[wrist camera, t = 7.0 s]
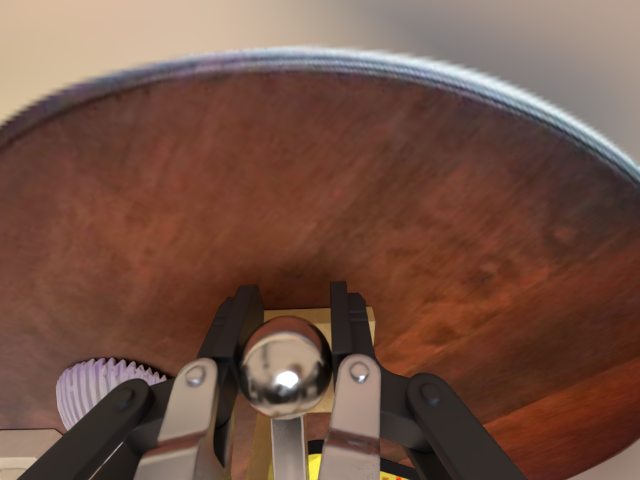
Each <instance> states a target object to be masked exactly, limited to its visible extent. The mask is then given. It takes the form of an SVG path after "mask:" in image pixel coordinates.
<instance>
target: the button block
mask: <svg viewBox="0 0 640 480" xmlns="http://www.w3.org/2000/svg"><path fill="white" fill-rule="evenodd" d="M62 436H63V435H61V434H60V433H59V432H58V431H56V430H55V429H41V430H0V480H16V479H18V478H19V477H20V476H21V475H22V474H23V473H24V472H25V471H26V470H27V469H28V468H29V467H30V466H31V465H32V464H34V463H35V462H36V461H37V460H38V459H39V458H40V457H41V456H42V455H43V454H44V453H45V452H46V451H47V450H48V449H49V448H51V447H52V446H53V445H54V444H55V443H56V442H57V441H58V440H59V439H60V438H61V437H62ZM101 467H102V466H101ZM101 467H100V468H101ZM100 468H99V469H100ZM99 469H98V470H99ZM98 470H97V471H98ZM97 471H96V472H97ZM96 472H95V473H94V474H93V476H94V475H95V474H96ZM93 476H92V477H93ZM92 477H91V478H92ZM91 478H90V479H91ZM90 479H89V480H90Z"/></svg>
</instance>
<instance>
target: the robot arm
mask: <svg viewBox="0 0 640 480" xmlns="http://www.w3.org/2000/svg"><path fill="white" fill-rule="evenodd" d="M330 310H331V349H332V368H333V385H334V393H335V394H334V400H333V406H332V412H331V418H330V424H329V430H328V433H327V435H326V437H325V440H324V445H323V450H322V455H321V461H320V467H319V473H318V479H317V480H380V443H379V438H380V437H382V438H384V439H387V440H390V441H392V442H395V443H398V444H400V445H402V446H403V448H404V450H405V452H406V453H407V455H408V457H409V459H410V460H411V462H412V464H413V466H414V467H415V469H416V471H417V473H418V474H419V476H420V478H421V480H528V479H527V478H526V477H525V476H524V475H523V473H522V472H521V471H520V470H519V469H518V467H517V466H516V465H515V464H514V463H513V462H512V460H511V459H510V458H509V457H508V456H507V454H506V453H505V452H504V451H503V450H502V448H501V447H500V446H499V445H498V444H497V442H496V441H495V440H494V439H493V438H492V436H491V435H490V434H489V433H488V432H487V430H486V429H485V428H484V427H483V426H482V424H481V423H480V422H479V421H478V420H477V418H476V417H475V416H474V415H473V414H472V412H471V411H470V410H469V409H468V408H467V406H466V405H465V404H464V403H463V402H462V401H461V399H460V398H459V397H458V396H457V395H456V393H455V392H454V391H453V390H452V389H451V387H450V386H449V385H448V384H447V383H446V382H445V381H444V380H443V379H441V378H440V377H438V376H436V375H434V374H430V373H418V374H415V375H414V376H412V377H411V378H407V377H404V376H400V375H397V374H394V373H391V372H389V371H388V370H386V369H385V368H384V367H382V366H381V365H380V363H379V362H378V361H377V359H376V357H375V353H374V348H373V343H372V337H371V331H370V326H369V321H368V315H367V309H366V303H365V300H364V299H363V298H362V297H361V295H360V294H359V293H347V285H346V281H342V282H330ZM262 323H264V308H263V303H262V299H261V295H260V291H259V287H258V285H240V286H239V288H238V290H237V293H236V295H235V297H228V298H227V299H226V300H225V301H224V302H223V303H222V304H221V305H220V306H219V309H218V311H217V313H216V315H215V318H214V320H213V322H212V324H211V325H212V326H210V329H209V331H208V333H207V335H206V337H205V340H204V342H203V344H202V346H201V349H200V351H199V353H198V355H197V357H196V359H195V360H193V361H191V362H189V363H188V364H186V365H185V366H184V367H183V368H182V369H181V370H180V371H179V373H178V374H177V376H176V377H174V378H172V379H169V380H166V381H163V382H160V383H157V384H153V385H150V386H149V385H148V383H147V382H146V381H145V380H144V379H141V378H134V379H130V380H127V381H125V382H122V383H121V384H119V385H118V386H116V387H115V388H114V389H112V390H111V391H110V392H109V393H108V394H107V395H106V396H105V397H104V398H103V399H102V400H101V401H99V402H98V403H97V404H96V405H95V406H94V407H93V408H92V409H91V410H90V411H89V412H88V413H87V414H86V415H85V416H83V417H82V418H81V419H80V420H79V421H78V422H77V423H76V424H75V425H74V426H73V427H72V428H71V429H70V430H69V431H68V432H66V433H65V434H64V435H63V436H62V437H61V438H60V439H59V440H58V441H57V442H56V443H55V444H54V445H53V446H52V447H51V448H49V449H48V450H47V451H46V452H45V453H44V454H43V455H42V456H41V457H40V458H39V459H38V460H37V461H36V462H35V463H34V464H32V465H31V466H30V467H29V468H28V469H27V470H26V471H25V472H24V473H23V474H22V475H21V476H20V477H19V478H18V479H16V480H89V479H90V478H91V477H92V476H93V474H94V473H95V472H96V471H97V470H98V469H99V468H100V467H101V465H102V464H103V463H104V462H105V461H106V460H107V459H108V458H109V456H110V455H111V454H112V453H113V452H114V451H115V450H116V449H117V447H118V446H119V445H120V444H121V443H122V442H123V443H122V444H121V445H120V446H119V448H118V449H117V450H116V451H115V452H114V453H113V454H112V455H111V457H110V458H109V459H108V460H107V461H106V462H105V463H104V465H103V466H102V467H101V468H100V469H99V470H98V471H97V472H96V474H95V475H94V476H93V477H92V478H91V479H90V480H232V479H231V462H232V450H233V437H234V424H235V407H234V404H235V400H236V397H237V394H242V391H241V389H240V385H239V381H238V359H239V356H240V352H241V349H242V347H243V345H244V343H245V341H246V340H247V338H248V336H249V335H250V334H251V333H252V332H253V331H254V330H255V329H256V328H257V327H258V326H259V325H261V324H262Z"/></svg>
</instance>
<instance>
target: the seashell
mask: <svg viewBox="0 0 640 480" xmlns="http://www.w3.org/2000/svg"><path fill="white" fill-rule="evenodd" d="M134 378H141V379H144V380H145V381H146V382H147V383H148V385H149V386H150V385H153V384H157V383H160V382H163V381H166V380H167V379H166V377H165V375H163V377H162V378H161V379H160V378H159V373H158V372H157V371H156V372H155V373H154V375H153V374H152V371H151V369H150V367H149V368H148V370H147V371H146V372H145V370H144V368H143V365H140V366H139V367H138V368H137V369H136V363H135V362H131V363H130V364H129V366H128V367H127V368H126V361H125V360H123V359H122V360H121V361H120V362H119V363H118V364H117V365H116V360H115V359H114V358H110V360H109V361H108V362H107V363H106V361H105V358H101V359H99V360H98V361H97V362H96V361H95V359H91V360H89V361H88V362H87V363H86V362H85V361H84V362H82V363H80V364H79V363H77V364H75V366H74V367H73V366H71V367H70V368H68V369H66V370H65V371H64V372H63V373H62V375H61V376H60V377H59V380H58V381H57V386H56V396H57V405H58V410H59V413H60V416H61V418H62V421H63V423H64V426H65V427H66V429H67V431H69V430H70V429H71V428H72V427H73V426H74V425H75V424H76V423H77V422H78V421H79V420H80V419H81V418H82V417H83V416H85V415H86V414H87V413H88V412H89V411H90V410H91V409H92V408H93V407H94V406H95V405H96V404H97V403H98V402H99V401H101V400H102V399H103V398H104V397H105V396H106V395H107V394H108V393H109V392H110V391H111V390H112V389H114V388H115V387H116V386H118V385H119V384H121V383H122V382H125V381H127V380H130V379H134ZM122 443H123V442H122ZM122 443H121V444H122ZM121 444H120V445H121ZM120 445H119V446H120ZM119 446H118V447H117V449H118V448H119ZM117 449H116V450H117ZM116 450H115V451H116ZM115 451H114V452H115ZM114 452H113V453H114ZM113 453H112V454H113ZM112 454H111V455H112ZM111 455H110V456H109V458H110V457H111ZM109 458H108V459H109ZM108 459H107V460H108ZM107 460H106V461H107ZM106 461H105V462H106ZM105 462H104V463H105Z"/></svg>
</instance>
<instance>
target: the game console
mask: <svg viewBox="0 0 640 480" xmlns="http://www.w3.org/2000/svg"><path fill="white" fill-rule="evenodd" d="M323 445H324V441H321V440H318V441H310V442H308V457H309V476H310V480H317V479H318V473H319V467H320V461H321V455H322V450H323ZM380 480H421V478H420V476H419V474H418V473H417V471H416V469H413V468H410V467H406V466H403V465H400V464H397V463H394V462H391V461H388V460H385V459H382V458H380Z"/></svg>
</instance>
